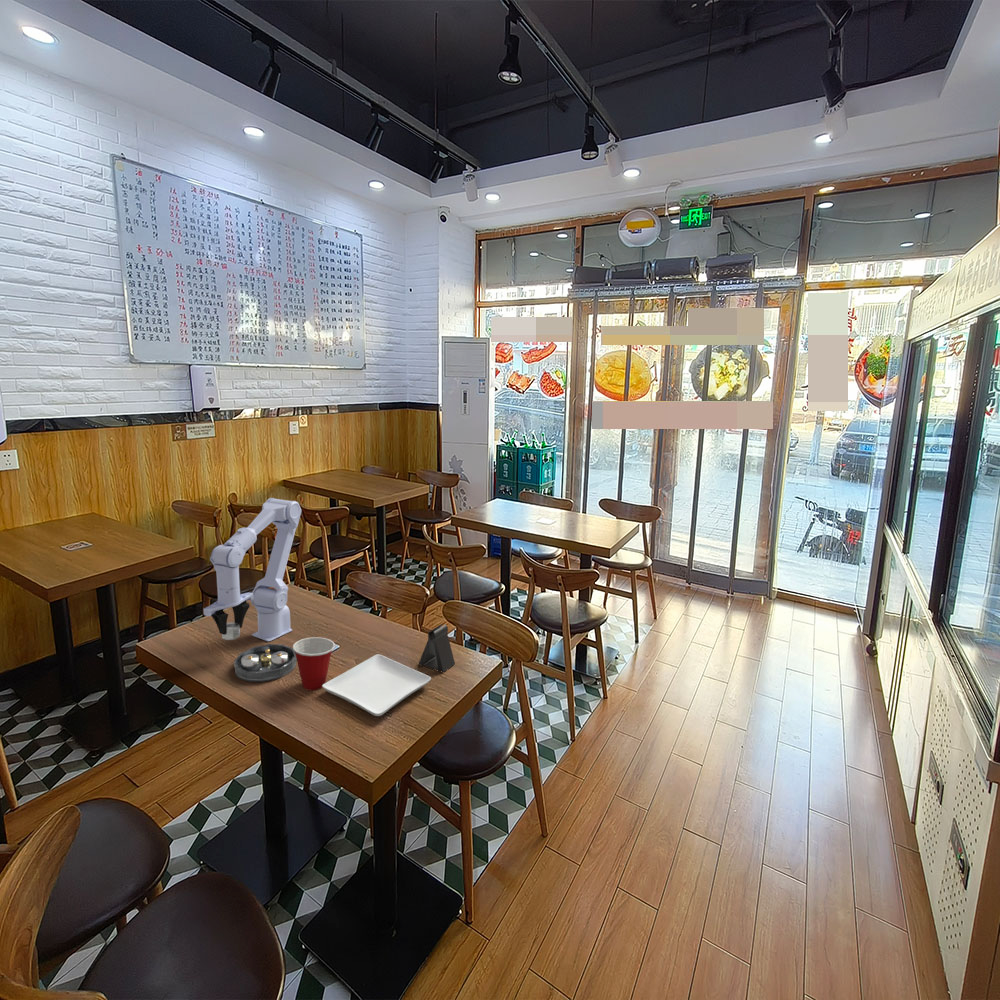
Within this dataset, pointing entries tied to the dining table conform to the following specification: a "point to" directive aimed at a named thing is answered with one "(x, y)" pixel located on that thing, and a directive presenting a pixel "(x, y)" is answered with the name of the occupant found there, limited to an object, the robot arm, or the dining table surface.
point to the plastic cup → (313, 660)
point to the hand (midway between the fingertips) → (231, 630)
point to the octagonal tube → (232, 631)
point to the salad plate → (377, 684)
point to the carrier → (265, 663)
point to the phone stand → (438, 650)
